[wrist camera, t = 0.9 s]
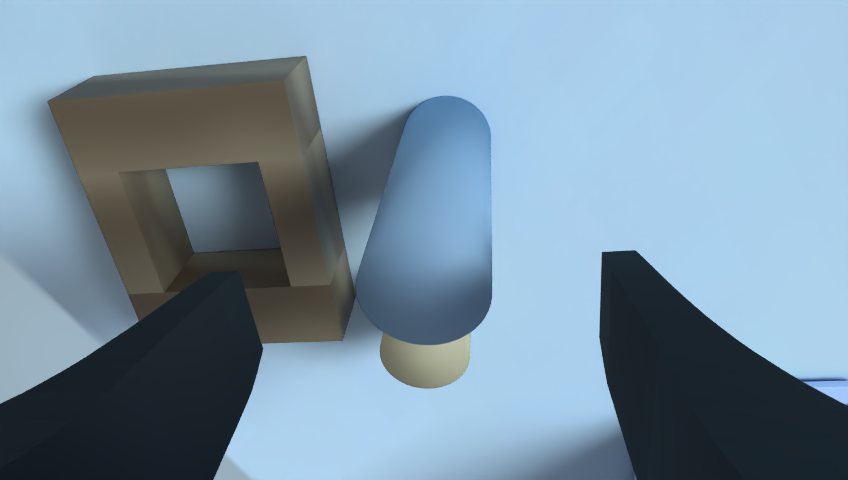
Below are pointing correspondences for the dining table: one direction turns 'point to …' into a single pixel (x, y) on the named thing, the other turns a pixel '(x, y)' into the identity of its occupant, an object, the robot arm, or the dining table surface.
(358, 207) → the dining table surface
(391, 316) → the long dowel
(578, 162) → the dining table surface
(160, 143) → the block with square hole
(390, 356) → the short dowel
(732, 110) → the dining table surface
